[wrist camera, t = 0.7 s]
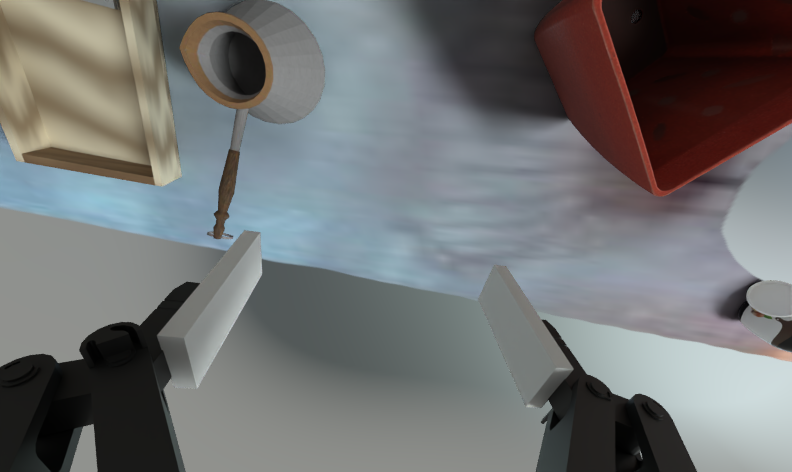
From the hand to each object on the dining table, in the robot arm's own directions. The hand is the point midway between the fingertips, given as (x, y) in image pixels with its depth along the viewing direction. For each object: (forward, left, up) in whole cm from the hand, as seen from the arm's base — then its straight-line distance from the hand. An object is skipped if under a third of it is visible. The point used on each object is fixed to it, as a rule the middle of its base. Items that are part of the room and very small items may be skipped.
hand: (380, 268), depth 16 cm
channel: (-4, -33, -26) cm, 42 cm away
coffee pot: (-3, -14, -26) cm, 30 cm away
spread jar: (+12, +82, -26) cm, 87 cm away
